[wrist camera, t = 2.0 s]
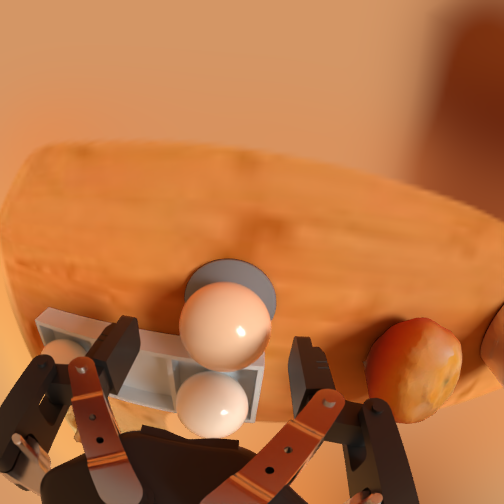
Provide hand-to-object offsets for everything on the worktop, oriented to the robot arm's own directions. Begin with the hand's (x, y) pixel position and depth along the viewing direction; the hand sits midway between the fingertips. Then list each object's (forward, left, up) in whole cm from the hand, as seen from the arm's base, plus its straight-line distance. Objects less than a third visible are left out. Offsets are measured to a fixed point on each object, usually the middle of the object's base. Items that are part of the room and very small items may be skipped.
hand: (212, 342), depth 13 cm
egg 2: (0, +7, -2) cm, 8 cm away
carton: (+7, +7, -5) cm, 11 cm away
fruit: (-14, +4, -5) cm, 16 cm away
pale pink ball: (0, 0, -2) cm, 2 cm away
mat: (0, 0, -5) cm, 5 cm away
